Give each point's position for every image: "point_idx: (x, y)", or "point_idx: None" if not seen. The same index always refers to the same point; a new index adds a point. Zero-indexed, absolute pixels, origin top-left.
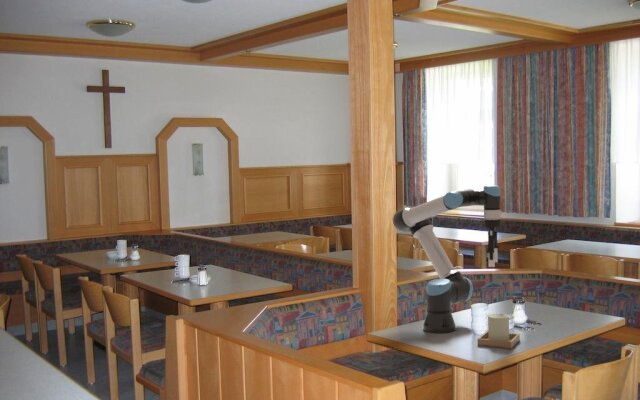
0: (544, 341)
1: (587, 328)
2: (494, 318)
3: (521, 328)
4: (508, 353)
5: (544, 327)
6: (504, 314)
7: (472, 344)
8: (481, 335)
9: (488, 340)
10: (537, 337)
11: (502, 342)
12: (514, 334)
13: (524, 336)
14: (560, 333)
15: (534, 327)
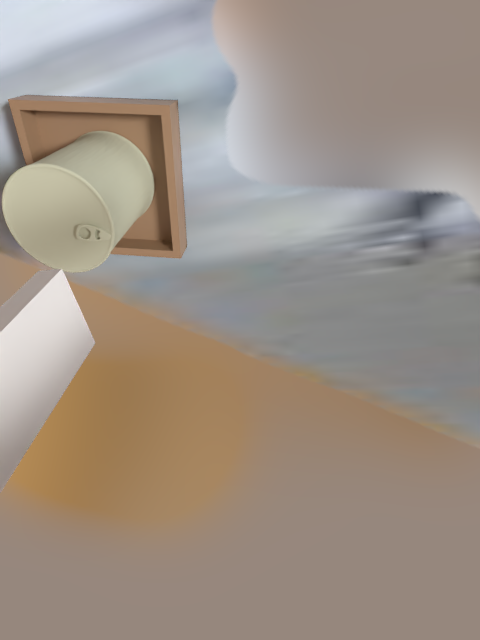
0: (215, 320)
1: (430, 415)
2: (3, 212)
3: (393, 219)
4: (10, 238)
5: (427, 301)
6: (108, 244)
7: (28, 63)
8: (73, 101)
9: (24, 156)
10: (260, 295)
11: None
12: (172, 239)
13: (258, 252)
14: (341, 354)
15: (421, 267)
